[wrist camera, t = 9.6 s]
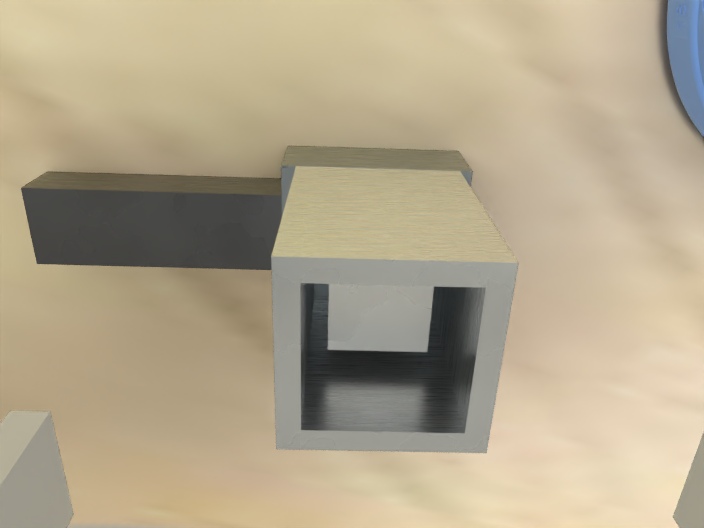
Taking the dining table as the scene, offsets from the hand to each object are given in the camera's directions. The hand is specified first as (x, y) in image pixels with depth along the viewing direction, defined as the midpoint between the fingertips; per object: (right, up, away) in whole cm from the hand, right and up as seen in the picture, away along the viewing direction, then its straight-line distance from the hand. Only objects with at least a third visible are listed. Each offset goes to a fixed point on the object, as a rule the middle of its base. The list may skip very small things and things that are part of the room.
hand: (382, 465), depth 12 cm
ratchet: (-5, +6, +13) cm, 15 cm away
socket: (0, +5, +11) cm, 12 cm away
